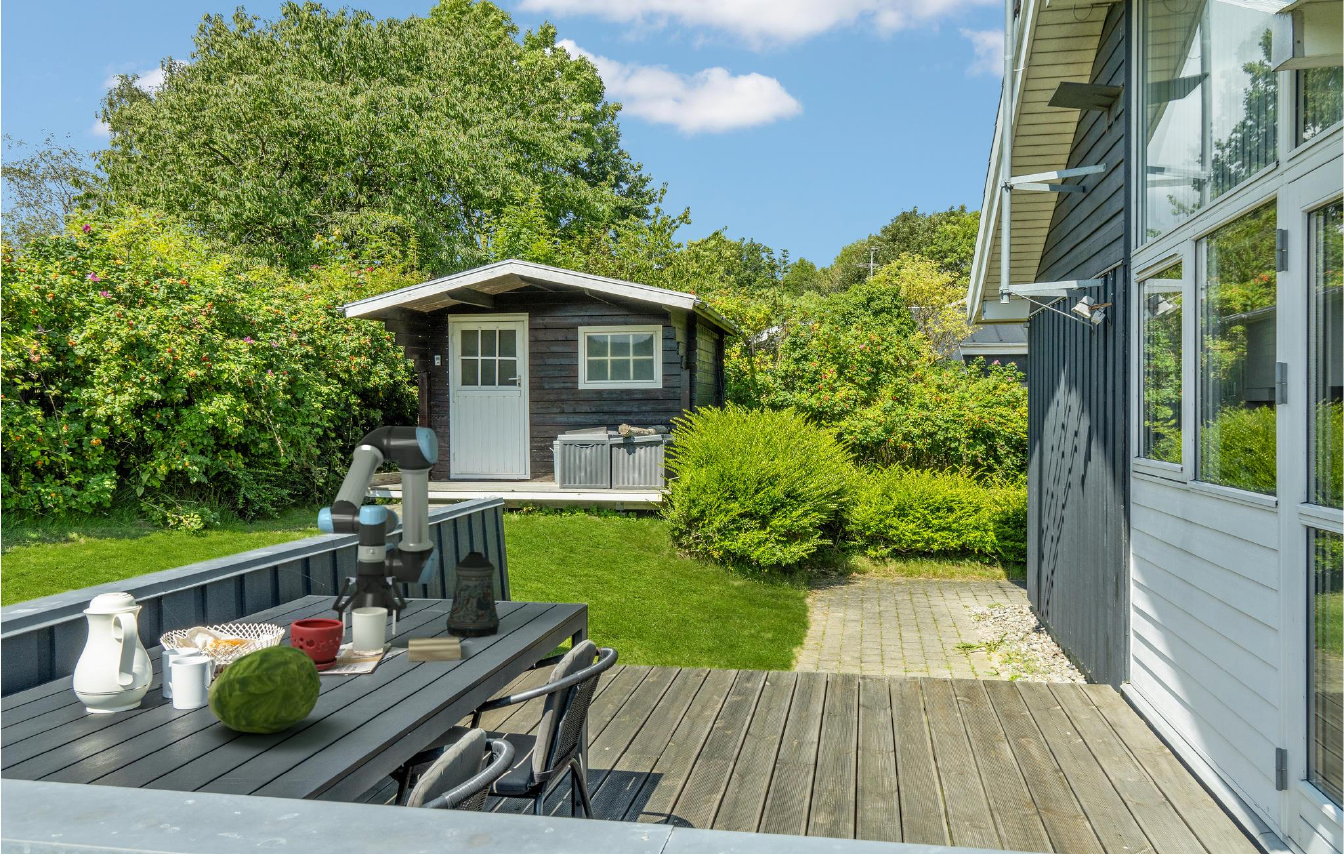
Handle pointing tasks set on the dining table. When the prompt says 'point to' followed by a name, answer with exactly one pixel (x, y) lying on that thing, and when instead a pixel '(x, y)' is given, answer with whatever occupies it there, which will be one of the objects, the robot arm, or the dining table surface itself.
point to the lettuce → (266, 690)
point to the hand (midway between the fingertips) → (368, 634)
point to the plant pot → (318, 640)
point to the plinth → (434, 649)
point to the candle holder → (369, 628)
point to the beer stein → (473, 599)
